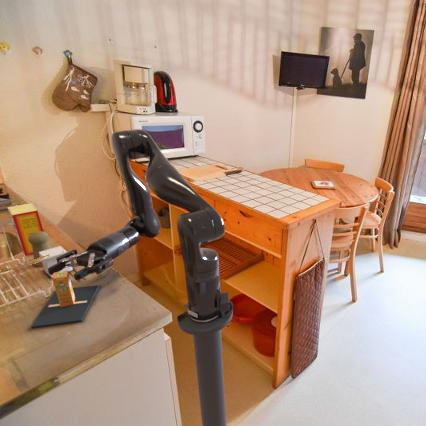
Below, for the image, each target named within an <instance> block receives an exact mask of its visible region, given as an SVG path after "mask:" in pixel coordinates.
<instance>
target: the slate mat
mask: <svg viewBox="0 0 426 426" xmlns="http://www.w3.org/2000/svg"><path fill="white" fill-rule="evenodd" d="M72 288H73V292H74V295H75V302H74V305H70V306H65V307H60V304H59V300H58V297H57V293H56V290H55V291H54V292H53V294H52V296H51V297H50V298H49V300H48V301H47V303H46V304H45V305H44V307H43V309H42V310H41V312H40V313H39V314H38V316H37V318H35V320H34V322H33V323H32V325H31V329H38V328H46V327H52V326H59V325H61V326H62V325H67V324H75V323H83V320H84V318H85V317H86V314H87V312H88V310H89V308H90V306H91V304H92V302H93V300H94V298H95V296H96V294H97V291H98V290H99V288H100V285H99V284H98V285H87V286H77V287H72Z"/></svg>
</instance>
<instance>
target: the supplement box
mask: <svg viewBox="0 0 426 426" xmlns="http://www.w3.org/2000/svg"><path fill="white" fill-rule="evenodd" d="M52 282H53V285H54V286H53V287H54V289H55V291H56V293H57V297H58V300H59V304H60V307H65V306H70V305H74V302H75V295H74V292H73V288H74V287H73V285H72V281H71V277H70V274H69V272H68V271H63V272H55V273H53V277H52Z"/></svg>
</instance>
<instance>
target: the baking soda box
mask: <svg viewBox="0 0 426 426" xmlns="http://www.w3.org/2000/svg"><path fill="white" fill-rule="evenodd" d="M6 208H7V211H8V214H9V218H10V220H11V223H12V226H13V229H14V233H15V235H16V238H17V241H18V244H19V247H20V249H21V251H22V253H23V254H24V256H25V257H27V256H30V255H31V256H32V255H33V248H32V244H31V243H30V242H29V241H28V237H29V235H30V234H32V233H35V232H40V231H41V232H45V231H44V228H43V225H42V220H41V218H40V215H39V212H38V211H39V210H38V209H37V208H36V207H35V205H34V204H33V203H32V202H30V203H29V202H28V203H22V204H16V205H10V206H7V207H6Z"/></svg>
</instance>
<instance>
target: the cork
mask: <svg viewBox="0 0 426 426" xmlns="http://www.w3.org/2000/svg"><path fill="white" fill-rule="evenodd" d="M49 239H50V236H49V234H48V233H47V231H44V232H41V231H40V232H35V233H32V234H30V235H29V237H28V241H29V242H30V243H31V244H32V248H33V254H32V255H33V257H32V258H33V260H34V259H37V258H39V257H40V255H39V252H41V251H45V250H48V249H51V248H52V245H51V244H50V242H49ZM33 264H34V263H33ZM34 266H35V267H43V264H42V261H41V262H39V263H36V264H34Z"/></svg>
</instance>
